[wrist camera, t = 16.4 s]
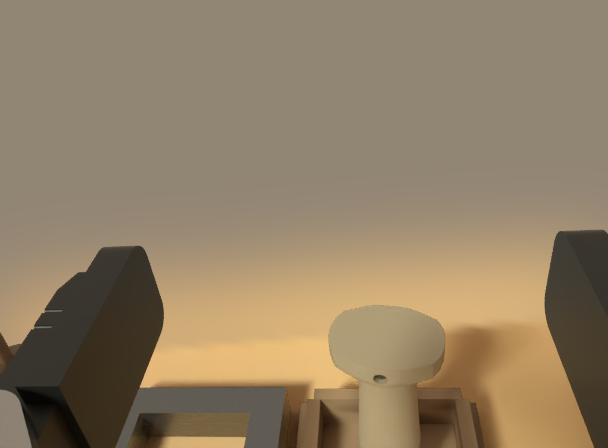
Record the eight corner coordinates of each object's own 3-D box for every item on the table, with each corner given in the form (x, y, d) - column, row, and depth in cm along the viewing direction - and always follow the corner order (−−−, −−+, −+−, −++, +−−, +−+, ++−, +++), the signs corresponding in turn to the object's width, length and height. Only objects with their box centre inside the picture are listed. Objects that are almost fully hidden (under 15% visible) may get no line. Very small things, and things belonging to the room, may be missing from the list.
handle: (351, 449, 43) (337, 301, 34) (439, 463, 41) (447, 311, 32) (339, 511, 39) (320, 361, 30) (435, 530, 37) (443, 376, 29)
